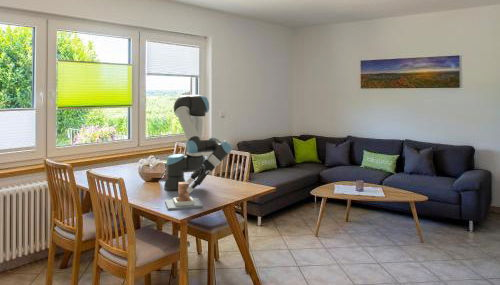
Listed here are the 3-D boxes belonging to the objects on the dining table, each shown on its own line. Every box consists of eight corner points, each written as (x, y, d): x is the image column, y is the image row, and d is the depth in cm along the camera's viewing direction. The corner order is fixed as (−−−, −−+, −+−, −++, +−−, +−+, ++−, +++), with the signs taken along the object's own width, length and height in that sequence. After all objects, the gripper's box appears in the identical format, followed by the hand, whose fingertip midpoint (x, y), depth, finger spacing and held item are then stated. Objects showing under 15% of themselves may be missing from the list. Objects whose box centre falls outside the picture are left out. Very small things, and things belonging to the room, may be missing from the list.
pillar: (179, 204, 236) (179, 184, 234) (178, 201, 241) (178, 182, 240) (188, 203, 238) (188, 183, 236) (187, 201, 243) (187, 181, 241)
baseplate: (168, 210, 228) (168, 204, 228) (164, 201, 245) (164, 196, 245) (203, 207, 234) (203, 202, 234) (197, 199, 251) (197, 194, 251)
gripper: (220, 171, 230) (194, 198, 227) (211, 163, 253) (187, 188, 251) (211, 162, 228) (184, 190, 225) (203, 155, 251) (179, 180, 249)
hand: (186, 189), depth 238 cm, fingers open, 13 cm apart
